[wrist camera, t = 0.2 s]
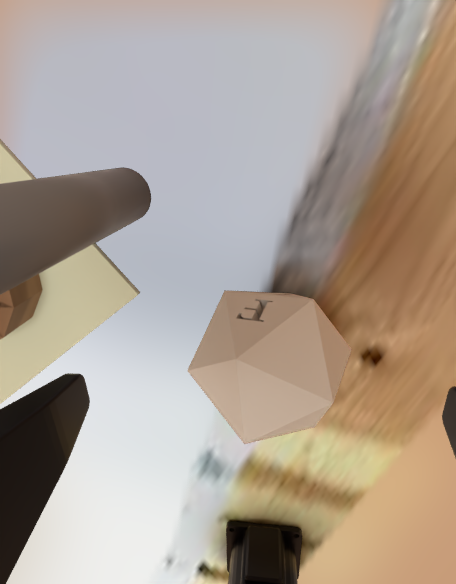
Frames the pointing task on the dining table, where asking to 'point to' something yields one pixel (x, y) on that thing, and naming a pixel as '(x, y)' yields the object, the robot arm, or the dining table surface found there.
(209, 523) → the dining table surface
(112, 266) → the mat
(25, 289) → the bead
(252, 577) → the robot arm
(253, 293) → the die
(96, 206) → the grey rounded peg
